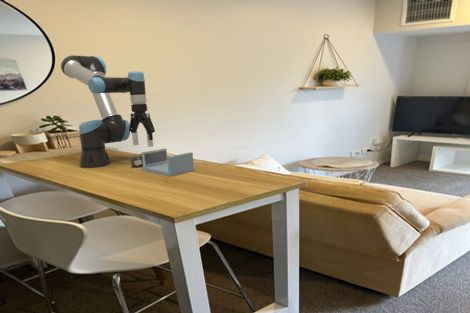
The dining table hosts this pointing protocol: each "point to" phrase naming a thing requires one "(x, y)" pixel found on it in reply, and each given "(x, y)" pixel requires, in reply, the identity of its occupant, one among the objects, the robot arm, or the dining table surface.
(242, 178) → the dining table surface
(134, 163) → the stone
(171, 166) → the vise
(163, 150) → the jaw
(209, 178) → the dining table surface
